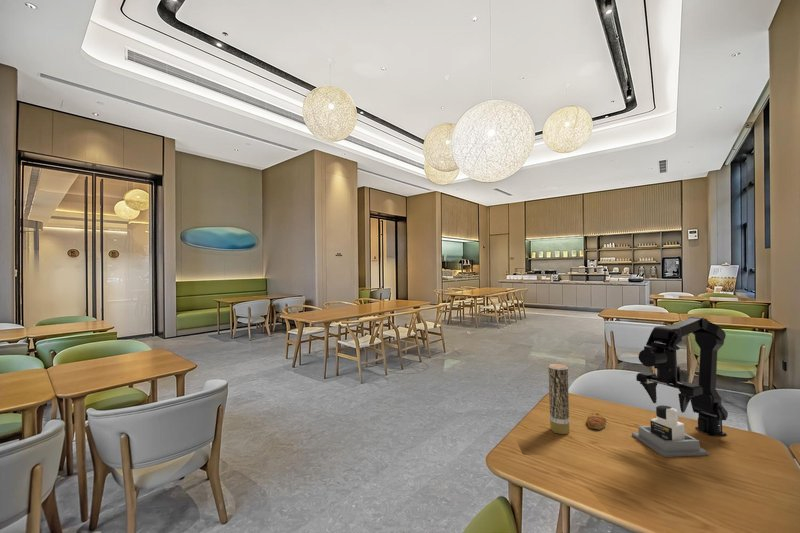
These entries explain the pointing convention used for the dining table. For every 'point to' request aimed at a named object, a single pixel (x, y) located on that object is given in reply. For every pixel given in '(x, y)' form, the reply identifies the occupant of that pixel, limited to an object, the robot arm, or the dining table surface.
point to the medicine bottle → (667, 424)
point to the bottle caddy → (669, 444)
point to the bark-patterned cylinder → (559, 398)
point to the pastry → (596, 421)
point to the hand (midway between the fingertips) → (668, 407)
